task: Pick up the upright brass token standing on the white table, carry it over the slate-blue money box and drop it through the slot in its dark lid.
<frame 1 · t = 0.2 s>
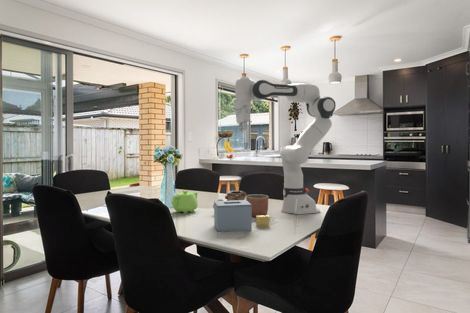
hand: (242, 130, 181), 47 cm above the table, fingers open, 8 cm apart
decorative box: (234, 206, 204), on the table
token: (262, 226, 155), on the table
moneybox: (232, 227, 153), on the table
stone: (221, 214, 181), on the table
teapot: (185, 212, 188), on the table
planter: (257, 216, 178), on the table
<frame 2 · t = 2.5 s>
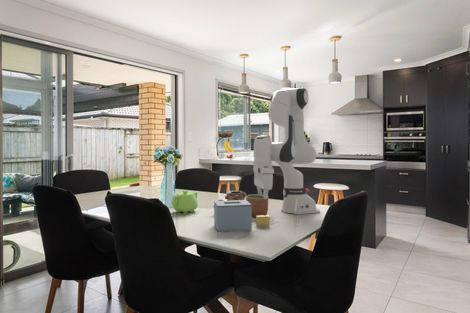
hand: (262, 197, 155), 14 cm above the table, fingers open, 8 cm apart
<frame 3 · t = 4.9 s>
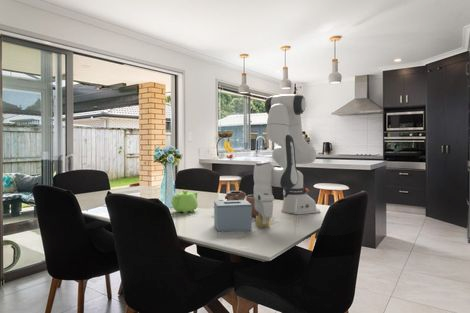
hand: (262, 222, 155), 2 cm above the table, fingers closed on token, 2 cm apart
token: (262, 226, 155), on the table, touching gripper
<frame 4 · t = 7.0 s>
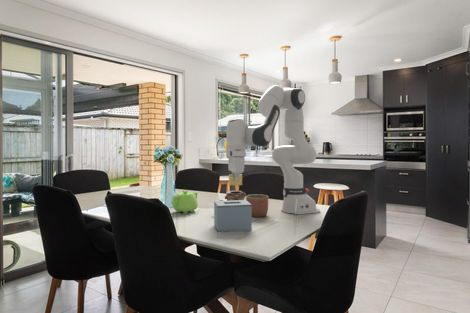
hand: (235, 181, 152), 22 cm above the table, fingers closed on token, 2 cm apart
token: (235, 184, 152), point 21 cm above the table, touching gripper
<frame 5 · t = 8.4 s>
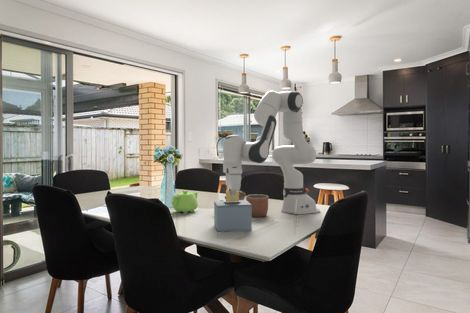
hand: (232, 197, 152), 14 cm above the table, fingers closed on token, 2 cm apart
token: (232, 201, 152), point 13 cm above the table, touching gripper
when the fingers open (13 cm above the table, at t = 9.3 s): token drops 11 cm, resting on moneybox.
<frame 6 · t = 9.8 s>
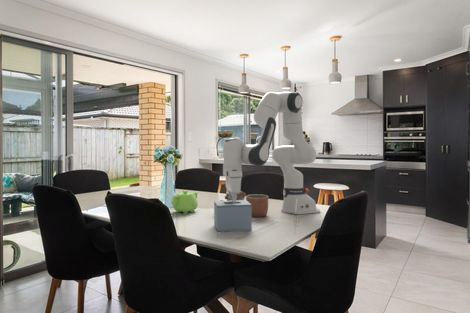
hand: (232, 200, 152), 13 cm above the table, fingers open, 8 cm apart
token: (232, 225, 153), point 1 cm above the table, touching moneybox
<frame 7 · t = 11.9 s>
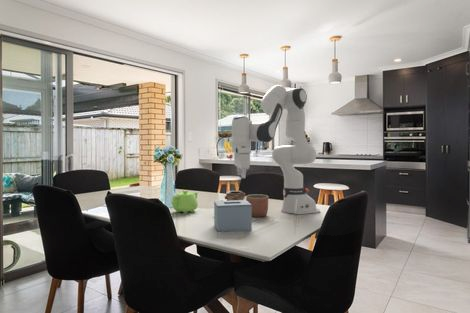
hand: (241, 176, 157), 24 cm above the table, fingers open, 8 cm apart
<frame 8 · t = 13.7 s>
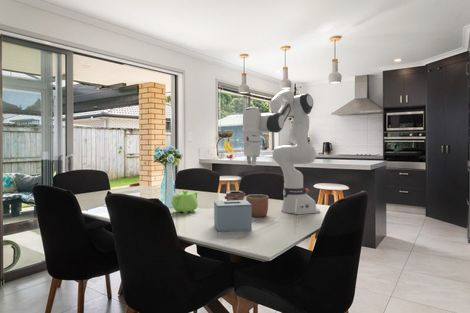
hand: (251, 165, 164), 29 cm above the table, fingers open, 8 cm apart
at the end: token inside the target area on the moneybox (0.0 cm from its centre), point 0.8 cm above the moneybox's base; the gripper is holding nothing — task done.
